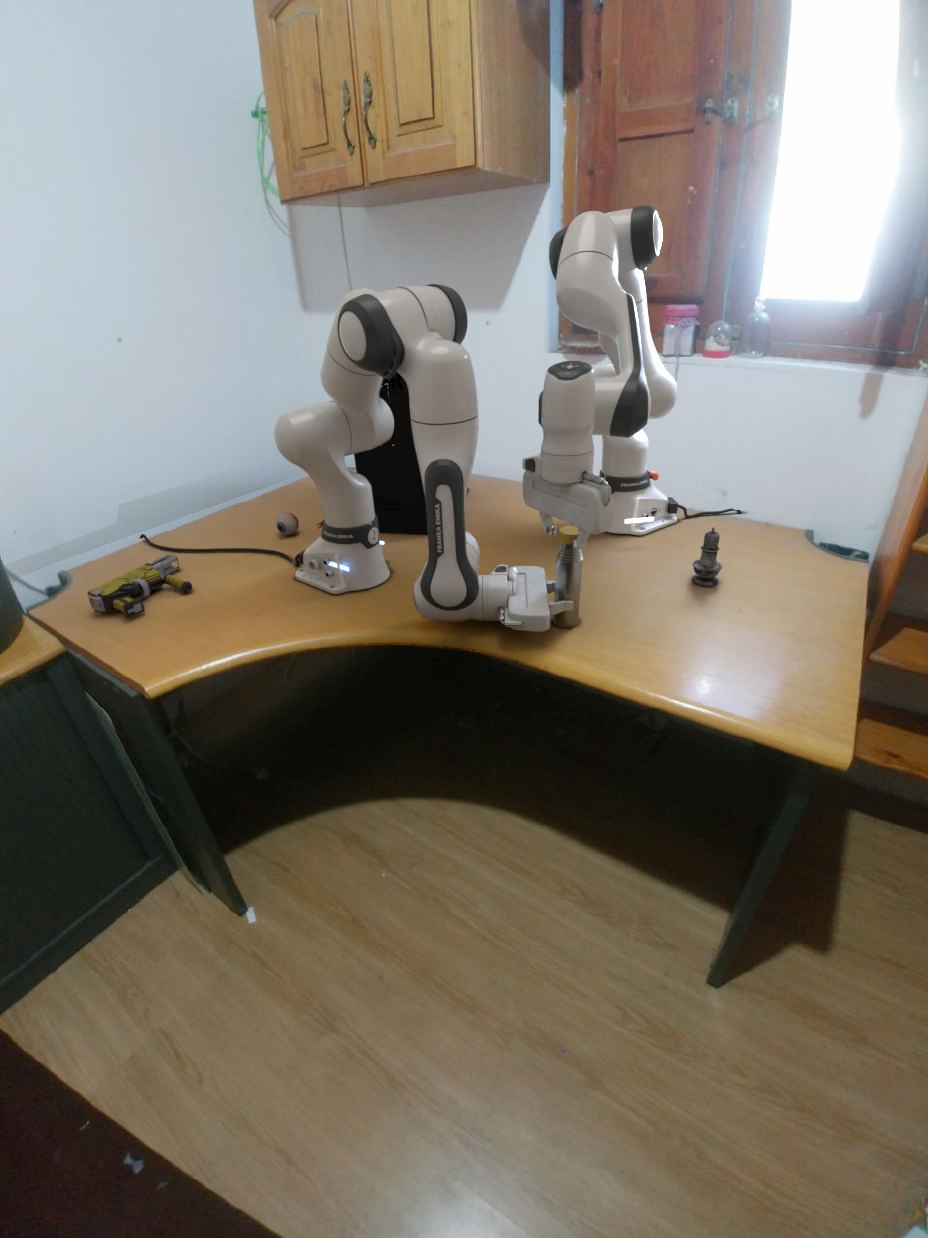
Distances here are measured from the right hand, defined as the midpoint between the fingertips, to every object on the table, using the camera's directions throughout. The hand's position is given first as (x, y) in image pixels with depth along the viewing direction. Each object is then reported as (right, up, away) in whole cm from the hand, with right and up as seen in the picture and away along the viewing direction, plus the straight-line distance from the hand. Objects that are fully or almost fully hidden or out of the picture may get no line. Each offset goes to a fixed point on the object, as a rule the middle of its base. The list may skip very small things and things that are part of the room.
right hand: (564, 541), depth 109 cm
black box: (-31, +18, +68) cm, 77 cm away
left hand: (+2, -10, +5) cm, 11 cm away
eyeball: (-66, +9, +56) cm, 87 cm away
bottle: (+1, -15, +8) cm, 17 cm away
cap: (+1, +2, -1) cm, 2 cm away
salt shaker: (+33, -6, +20) cm, 39 cm away
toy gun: (-88, -9, +28) cm, 93 cm away
